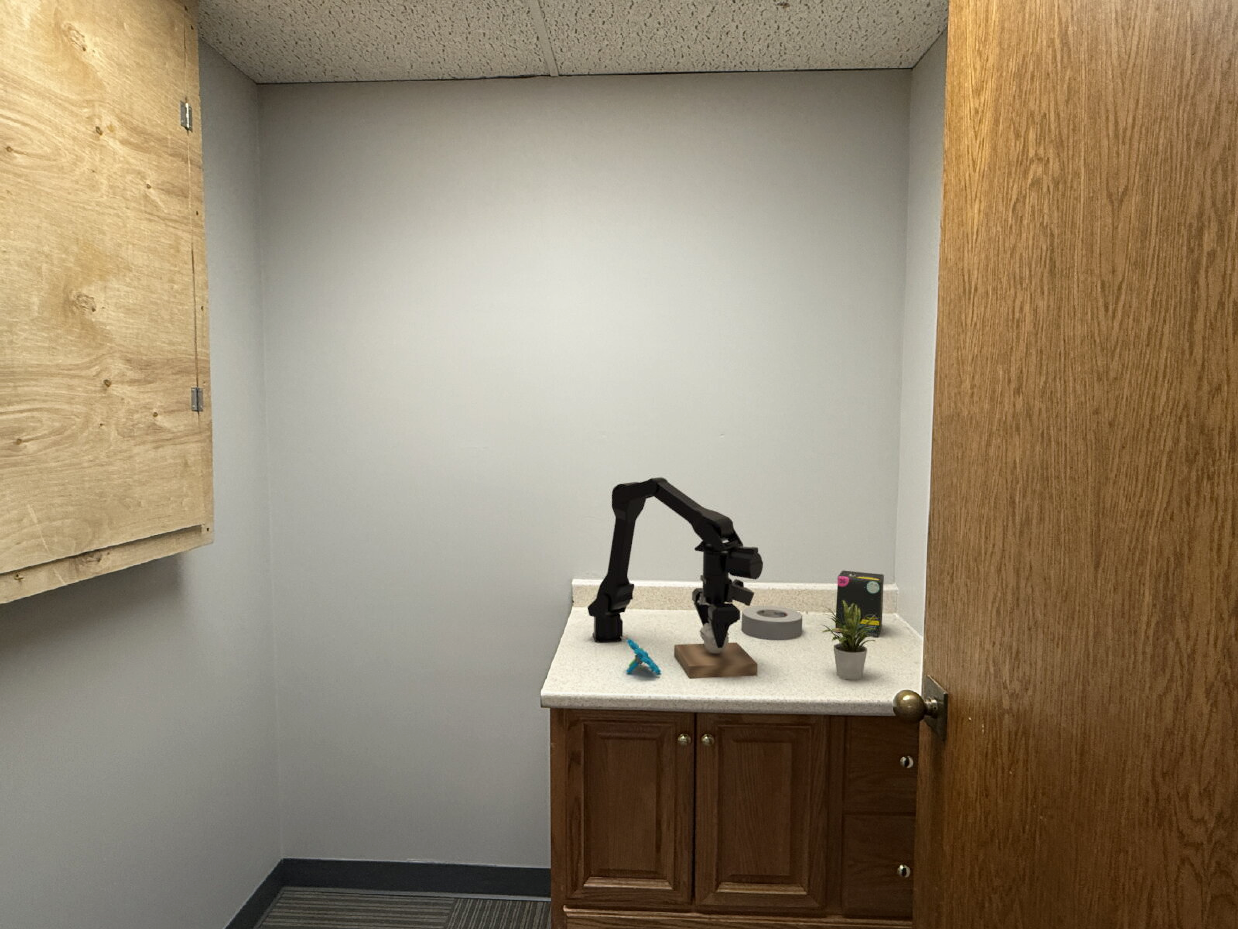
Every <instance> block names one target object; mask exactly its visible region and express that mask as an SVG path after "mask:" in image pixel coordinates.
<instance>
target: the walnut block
mask: <svg viewBox="0 0 1238 929" xmlns="http://www.w3.org/2000/svg"><path fill="white" fill-rule="evenodd" d="M673 646H674V647H673V657H674V659H675V660H676V661H677V663H678V664H679V665H680V667H681V670H683V672H684V673H685V674H686V676H687V677H688V678H689V679H709V678H710V679H711V678H712V679H713V678H716V679H717V678H737V677H757V676H758V663H757V662H756V661H755V659H753V657H752V656H751V655H750V654H749V653H748V652H747V651H746V650H745V649H744V648H743V647H742V646H741V645H740V644H739V642H736V641H735V642H728V644H727V645H726V648H725V649H724V651H723V652H721V653H719V654H713V653H710V652H709V651H708V650H707V649H706V648H705V645H704V643H683V644H681V643H680V644H679V643H678V644H674V645H673Z"/></svg>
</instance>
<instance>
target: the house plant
mask: <svg viewBox="0 0 1238 929" xmlns="http://www.w3.org/2000/svg"><path fill="white" fill-rule="evenodd" d="M843 604H844V615H845V623H846V626H842V624H841V623H840V622H839V620H838V619H837V617H836V613H834V612H833V611H832V610H831V609H830V608H829V607H827V606H824V605H821V604H819V606H820V607H824V608H826V609H827V610H826V611H828V612H829V613H830V614H832V615H829V614H828V616H829V617H830V619H831V620H832V621H833V622H834V623H836V625H837V626H838V628H839V629H835V628H832V629H831V628H830V627H828V626H827V625H825V624H822V623H820V625H822V626H824V627H825V628H827V629H824V630H823V631H822V632H821V634H823V633H826V632H827V633H828V632H830V633H829V634H830V635H833V637H832V639H831V642H833V641H836V640H838V641H839V642H838V643H835V644H834V645H833V653H834V661H835V669H836V675H838V676H839V678H841V679H843V678H844V680H847V679H848V680H847V681H858V680H861V679H862V678H863V673H864V668H865V664H866V658H867V654H868V648H867V647H866V646H864V644H866V643H868V642H870V641H871V642H876V640H875V639H869V640H865V639H866V638H868V637H869V636H868V635H866V634H864V633H865V632H867V631H869V630H871V629H873V628H870V629H867V630H865V631H864V629H865V628H866V627H867V625H868V624H869V623H870V622H871V621H872V620H871V619H872V618H873V617H874V616H875V615H876V614H875V615H874V616H873V617H872V618H871V619H870V620H871V621H870V620H869V621H868V622H867V623H866V624H865V625H864V626H863V628H862V629H861V631H860V632H859V634H858V635H856V634H857V631H858V627H859V622H860V617H861V614H860V609H858V613H857V605H858V604H857V605H855V608H854V610H853V605H854V603H853V604H852V605H851V606H850V609H849V610H848V606H847V604H846V603H845V601H843ZM852 610H853V613H852ZM822 615H823V616H824V615H825V616H827V614H825V613H822ZM853 619H854V621H853ZM873 620H874V619H873ZM836 621H837V622H838V623H839V624H838V623H837V622H836ZM839 625H840V626H839ZM840 627H841V628H840ZM836 631H840V632H841V633H838V632H836ZM863 631H864V632H863ZM835 633H836V634H835ZM861 633H862V634H861ZM840 634H841V635H840ZM863 634H864V635H863ZM864 640H865V641H864ZM838 676H837V677H838Z"/></svg>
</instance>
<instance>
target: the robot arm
mask: <svg viewBox="0 0 1238 929" xmlns="http://www.w3.org/2000/svg"><path fill="white" fill-rule="evenodd" d="M651 498H655V499H657V500H658V501H659V502H661V503H662V504H664V505H665V506H666V507H668V508H669V509H670V510H672V512H674V513H676V514H677V515H678V516H680V517H682V518H683V519H684V520H685V521H686V522H687V523H689V524H690V526H691V528H692V530H693V531H694V533H695V534H696V535H697V536H698V537H699V539H701V542H700V543H699V544H698V545H697V546H695V547H694V551H695V552H699V553H702V574H701V575H699V576H700V579H699V580H700V581H702V587H695V589H693V591H692V592H691V601H693V605H694V608H695V610H696V612H697V615H698V617H699V620H700V623H701V624H702V627H704V624H705V623H710V626H711V629H712V632H713V636H714V639H715V642H716V645H717V647H718V648H722V647H723V645H724V642H725V638H726V635H727V632H728V633H729V630H730V627H731V626H732V625H733V624H735V623H737V622H739V621H740V620H741V610H740V609H739V608H738V607H737V606H736V605H735V604H733V603H734V601H735V602H737V603H740V604H743V605H745V606H747V607H751V606H750V605H751V603H752V600H753V599H754V598H753V597H754V595H755V592H753V591H752V590H751V589H750V588H748V587H746V586H745V584H744V581H742V580H740V579H737V577H738V578H742V579H743V578H745V579H750V580H757V579H759V577H760V576H761V575H762V572H763V569H764V561H763V559H762V555H761V554H760V553H759V548H758V547H756V546H750V547H749V546H744V543H743V541H742V540H741V538H740V536H739V535H738V532H736V530H735V528H734V522H733V521H732V518H730V517H728V515H725V514H723V513H721V512H718V511H715V510H713V509H709V508H706V507H703V506H702V504H701V505H700V503H698V502H696V501H695V500H694V499H692V498H691V497H689V496H688V495H687V494H685V493H684V492H682V491H681V490H680V489H678V488H677V487H675V486H674V485H673V484H671V483H670V482H669V481H668V480H667V479H666V478H664V477H661V476H659V477H651V478H649V479H647V480H643V481H640V482H639V481H632V482H631V481H630V482H624V483H623V482H622V483H619V484H617V485H616V486H614V487H613V488H612V491H611V509H612V512H613V514H614V517H615V522H614V526H613V527H614V528H613V533H612V540H611V547H610V554H609V562H608V567H607V572H606V575H605V576H604V578H603V579H602V581H601V583H600V584H599V587H598V590H597V593H596V596H595V599H594V600H593V601H592V602H591V603H590V604H589V605H588V606H587V611H588V616H590V617H593V633H592V636H593V638H594V641H595V643H608V642H609V643H610V642H622V638H623V633H624V632H623V630H624V629H623V628H624V626H623V624H624V623H623V622H624V621H623V618H621V617H622V616H621V613H625V612H626V609H627V607H628V606H629V604H630V603H631V601H632V600H634V596H633V593H634V589H635V584H634V583H631V582H630V579H629V576H628V574H629V573H628V572H629V566H630V561H631V554H632V548H633V547H632V546H633V540H634V534H635V527H636V522H637V519H638V518H639V516H640V514H641V513H642V512H643V510H644V508H645V504H646V500H647V499H651ZM729 575H730V576H731V577H736V578H735V579H734V580H733V579H732V578H730V577H729Z"/></svg>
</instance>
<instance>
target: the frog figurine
mask: <svg viewBox="0 0 1238 929" xmlns="http://www.w3.org/2000/svg"><path fill="white" fill-rule="evenodd" d="M699 635H700V638H701V640H702V641H704V642H703V644H704V645H705V648H706V649H707V650H708V651H709V652H710V653H713V654H719V653H721V652H723V651H724V649H725V648H726V645H727V644H728V643H730V638H729V635H730V634H729V631H728V632H727V635H726V638H725V642H724V645H723V647H722V648H718V647H717V645H716V642H715V639H714V636H713V632H712V629H711V626H710V623H705V624H704V627H703V626H702V627H701V628H700V629H699Z"/></svg>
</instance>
